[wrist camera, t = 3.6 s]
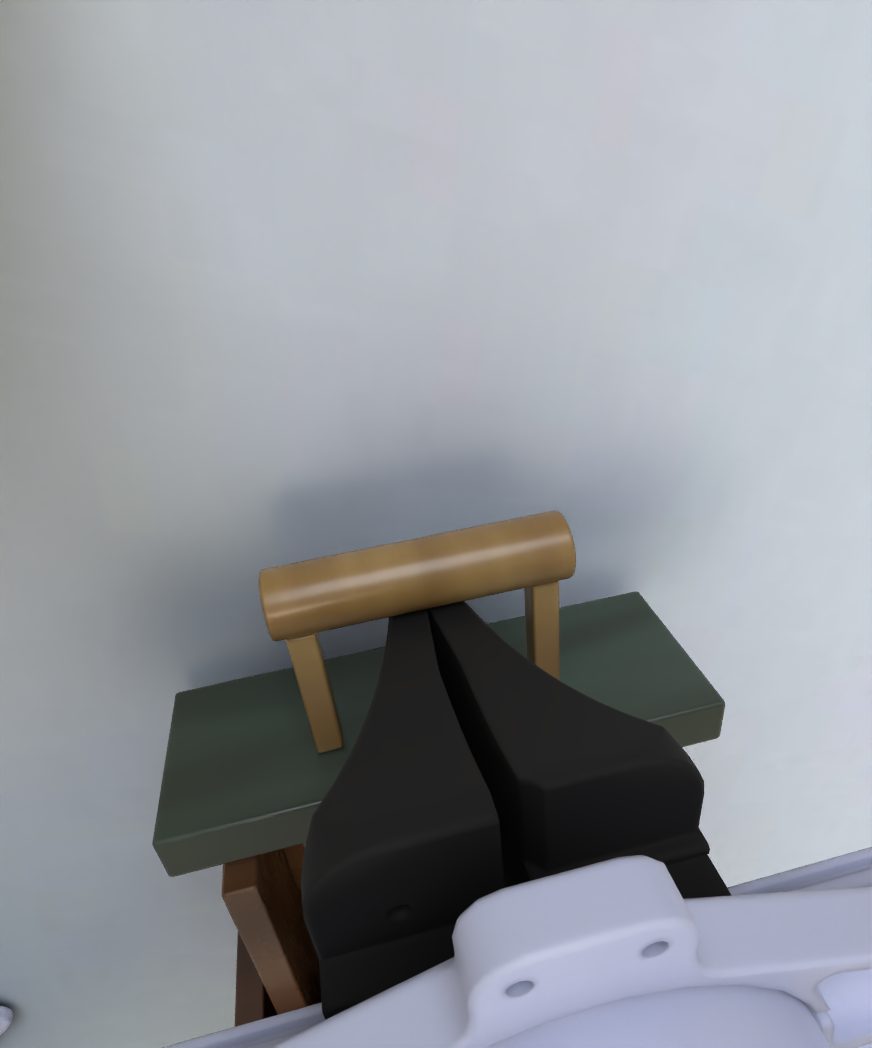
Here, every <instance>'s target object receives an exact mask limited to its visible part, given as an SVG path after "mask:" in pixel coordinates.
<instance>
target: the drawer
mask: <svg viewBox="0 0 872 1048" xmlns="http://www.w3.org/2000/svg"><path fill="white" fill-rule="evenodd" d="M575 567H576V554H575V546H574V541H573V537H572V534H571V531H570V528H569V526H568V524H567V522H566V520H565V518H564V516H563V515H562V514H561V513H560V512H558V511H550V512H545V513H540V514H535V515H530V516H525V517H520V518H515V519H510V520H505V521H500V522H495V523H490V524H485V525H480V526H475V527H470V528H465V529H460V530H455V531H450V532H445V533H440V534H435V535H430V536H425V537H421V538H416V539H411V540H406V541H401V542H396V543H391V544H386V545H381V546H376V547H371V548H366V549H361V550H356V551H351V552H346V553H341V554H336V555H331V556H326V557H321V558H316V559H311V560H306V561H301V562H296V563H291V564H287V565H282V566H277V567H272V568H267V569H263V570H261V571H260V574H259V591H260V598H261V604H262V610H263V614H264V619H265V622H266V626H267V629H268V632H269V634H270V636H271V638H272V639H273V641H280V640H285V639H286V644H287V647H288V651H289V654H290V658H291V661H292V665H293V667H291V668H287V669H282V670H278V671H273V672H269V673H264V674H260V675H255V676H251V677H246V678H242V679H237V680H233V681H228V682H223V683H219V684H214V685H210V686H205V687H201V688H196V689H192V690H187V691H183V692H179V693H177V694H176V696H175V702H174V709H173V715H172V722H171V728H170V734H169V741H168V747H167V754H166V760H165V767H164V773H163V779H162V786H161V792H160V799H159V805H158V812H157V818H156V824H155V831H154V837H153V847H154V849H155V850H156V852H157V854H158V856H159V858H160V860H161V862H162V864H163V865H164V867H165V869H166V871H167V873H168V875H169V876H170V877H174V876H178V875H182V874H186V873H190V872H194V871H198V870H202V869H206V868H210V867H214V866H217V865H221V864H223V879H222V898H223V900H224V902H225V904H226V906H227V908H228V910H229V913H230V915H231V917H232V919H233V921H234V923H235V925H236V927H237V929H238V932H239V934H240V936H241V938H242V940H243V942H244V944H245V946H246V949H247V951H248V953H249V955H250V957H251V959H252V961H253V963H254V965H255V968H256V970H257V972H258V974H259V976H260V978H261V980H262V982H263V984H264V987H265V989H266V991H267V993H268V995H269V997H270V999H271V1001H272V1004H273V1006H274V1008H275V1010H276V1012H277V1014H278V1015H279V1014H283V1013H286V1012H290V1011H293V1010H297V1009H300V1008H304V1007H307V1006H311V1005H314V1004H318V1003H321V986H320V970H319V959H318V956H317V953H316V950H315V948H314V945H313V942H312V940H311V937H310V934H309V931H308V929H307V926H306V923H305V921H304V916H303V907H302V893H301V874H302V863H303V856H304V850H305V848H304V845H303V844H304V843H306V840H307V836H308V832H309V827H310V823H311V819H312V816H313V813H314V812H315V811H316V809H317V808H318V806H319V805H320V803H321V802H322V800H323V798H324V797H325V795H326V794H327V792H328V791H329V789H330V788H331V786H332V785H333V783H334V782H335V780H336V778H337V777H338V775H339V773H340V771H341V769H342V767H343V765H344V764H345V762H346V760H347V758H348V756H349V754H350V752H351V750H352V748H353V746H354V744H355V742H356V740H357V738H358V736H359V733H360V731H361V728H362V726H363V724H364V721H365V719H366V716H367V714H368V711H369V708H370V705H371V703H372V700H373V697H374V693H375V690H376V687H377V683H378V680H379V675H380V671H381V667H382V663H383V659H384V654H385V648H386V647H382V648H377V649H373V650H368V651H364V652H359V653H355V654H350V655H346V656H341V657H337V658H332V659H328V660H325V658H324V654H323V650H322V646H321V642H320V638H319V634H318V632H322V631H327V630H331V629H336V628H341V627H345V626H350V625H355V624H359V623H364V622H369V621H373V620H378V619H383V618H387V617H392V616H396V615H401V614H406V613H410V612H415V611H420V610H424V609H429V608H434V607H438V606H443V605H447V604H452V603H457V602H461V601H466V600H471V599H475V598H480V597H485V596H489V595H494V594H499V593H503V592H508V591H512V590H517V589H522V588H524V591H525V616H522V617H518V618H513V619H509V620H504V621H500V622H495V623H490V624H487V625H488V626H489V627H490V628H492V629H493V630H494V631H495V632H496V633H497V634H498V635H499V636H500V637H501V638H502V639H504V640H505V641H506V642H507V643H508V644H509V645H511V646H512V647H513V648H514V649H516V650H517V651H518V652H519V653H520V654H522V655H523V656H524V657H526V658H527V659H528V660H530V661H531V662H532V663H534V664H535V665H537V666H538V667H539V668H541V669H542V670H544V671H545V672H547V673H548V674H550V675H551V676H553V677H555V678H556V679H558V680H559V681H561V682H563V683H564V684H566V685H568V686H570V687H571V688H573V689H575V690H577V691H579V692H581V693H583V694H585V695H586V696H588V697H590V698H592V699H594V700H596V701H598V702H600V703H603V704H605V705H607V706H610V707H612V708H614V709H616V710H619V711H621V712H623V713H626V714H629V715H632V716H634V717H637V718H640V719H643V720H646V721H648V722H651V723H654V724H657V725H660V726H662V727H664V728H665V729H666V730H667V731H668V732H669V733H670V734H671V735H672V737H673V738H674V739H675V740H676V741H677V742H678V744H679V745H680V746H681V747H685V746H689V745H693V744H697V743H701V742H704V741H708V740H712V739H716V738H718V737H719V736H720V731H721V725H722V720H723V714H724V708H725V702H724V700H723V699H722V697H721V696H720V695H719V694H718V692H717V691H716V690H715V689H714V687H713V686H712V685H711V684H710V682H709V681H708V680H707V678H706V677H705V676H704V675H703V673H702V672H701V671H700V670H699V668H698V667H697V666H696V665H695V663H694V662H693V661H692V659H691V658H690V657H689V656H688V654H687V653H686V652H685V651H684V649H683V648H682V647H681V646H680V644H679V643H678V642H677V640H676V639H675V638H674V637H673V635H672V634H671V633H670V632H669V630H668V629H667V628H666V626H665V625H664V624H663V623H662V621H661V620H660V619H659V618H658V616H657V615H656V614H655V613H654V611H653V610H652V609H651V607H650V606H649V605H648V604H647V602H646V601H645V600H644V599H643V597H642V596H641V595H640V594H639V592H631V593H626V594H622V595H617V596H613V597H608V598H604V599H599V600H595V601H590V602H585V603H581V604H576V605H572V606H567V607H563V608H559V582H558V581H559V580H564V579H568V578H570V577H572V576H573V574H574V572H575Z"/></svg>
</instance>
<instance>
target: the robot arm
mask: <svg viewBox="0 0 872 1048" xmlns="http://www.w3.org/2000/svg"><path fill="white" fill-rule="evenodd" d="M703 797H704V780H703V778H702V776H701V774H700V772H699V771H698V769H697V767H696V766H695V764H694V763H693V761H692V760H691V758H690V757H689V756H688V754H687V753H686V752H685V751H684V749H683V748H682V747H681V746H680V745H679V744H678V742H677V741H676V740H675V739H674V738H673V737H672V735H671V734H670V733H669V732H668V731H667V730H666V729H665V728H664V727H662V726H660V725H657V724H654V723H651V722H648V721H646V720H643V719H640V718H637V717H634V716H632V715H629V714H626V713H623V712H621V711H619V710H616V709H614V708H612V707H610V706H607V705H605V704H603V703H600V702H598V701H596V700H594V699H592V698H590V697H588V696H586V695H585V694H583V693H581V692H579V691H577V690H575V689H573V688H571V687H570V686H568V685H566V684H564V683H563V682H561V681H559V680H558V679H556V678H555V677H553V676H551V675H550V674H548V673H547V672H545V671H544V670H542V669H541V668H539V667H538V666H537V665H535V664H534V663H532V662H531V661H530V660H528V659H527V658H526V657H524V656H523V655H522V654H520V653H519V652H518V651H517V650H516V649H514V648H513V647H512V646H511V645H509V644H508V643H507V642H506V641H505V640H504V639H502V638H501V637H500V636H499V635H498V634H497V633H496V632H495V631H494V630H493V629H492V628H490V627H489V626H488V625H487V624H486V623H485V622H484V621H483V620H482V619H481V618H480V617H479V616H478V615H477V614H476V613H475V612H474V611H473V610H472V609H471V608H470V607H469V606H468V604H467V603H466V602H465V601H461V602H457V603H452V604H447V605H443V606H438V607H434V608H429V609H424V610H420V611H415V612H410V613H406V614H401V615H396V616H392V617H389V625H388V635H387V641H386V648H385V654H384V659H383V663H382V667H381V671H380V675H379V680H378V683H377V687H376V690H375V693H374V697H373V700H372V703H371V705H370V708H369V711H368V714H367V716H366V719H365V721H364V724H363V726H362V728H361V731H360V733H359V736H358V738H357V740H356V742H355V744H354V746H353V748H352V750H351V752H350V754H349V756H348V758H347V760H346V762H345V764H344V765H343V767H342V769H341V771H340V773H339V775H338V777H337V778H336V780H335V782H334V783H333V785H332V786H331V788H330V789H329V791H328V792H327V794H326V795H325V797H324V798H323V800H322V802H321V803H320V805H319V806H318V808H317V809H316V811H315V812H314V813H313V816H312V819H311V823H310V827H309V832H308V836H307V840H306V845H305V850H304V856H303V863H302V874H301V893H302V907H303V916H304V921H305V923H306V926H307V929H308V931H309V934H310V937H311V940H312V942H313V945H314V948H315V950H316V953H317V956H318V959H319V970H320V986H321V1003H318V1004H314V1005H311V1006H307V1007H304V1008H300V1009H297V1010H293V1011H290V1012H286V1013H283V1014H279V1015H275V1016H272V1017H268V1018H265V1019H261V1020H258V1021H254V1022H251V1023H247V1024H244V1025H240V1026H237V1027H233V1028H229V1029H226V1030H222V1031H219V1032H215V1033H212V1034H208V1035H205V1036H201V1037H198V1038H194V1039H191V1040H187V1041H183V1042H180V1043H176V1044H173V1045H169V1046H166V1047H162V1048H872V847H870V848H866V849H863V850H859V851H856V852H852V853H848V854H845V855H841V856H838V857H834V858H831V859H827V860H824V861H820V862H817V863H813V864H810V865H806V866H803V867H799V868H795V869H792V870H788V871H785V872H781V873H778V874H774V875H771V876H767V877H764V878H760V879H757V880H753V881H749V882H746V883H742V884H739V885H735V886H732V887H728V888H727V887H726V885H725V883H724V882H723V880H722V878H721V877H720V875H719V873H718V872H717V870H716V868H715V867H714V865H713V863H712V862H711V860H710V858H709V857H708V855H707V854H709V851H710V848H709V845H708V843H707V841H706V839H705V838H704V836H703V834H702V833H701V831H700V829H699V828H698V826H699V820H700V815H701V809H702V803H703ZM12 1017H13V1011H12V1010H11V1009H9V1008H7V1007H4V1006H0V1035H1V1034H2V1033H3V1032H4V1031H5V1030H6V1029H7V1028H8V1027H9V1026H10V1024H11V1020H12Z"/></svg>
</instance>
